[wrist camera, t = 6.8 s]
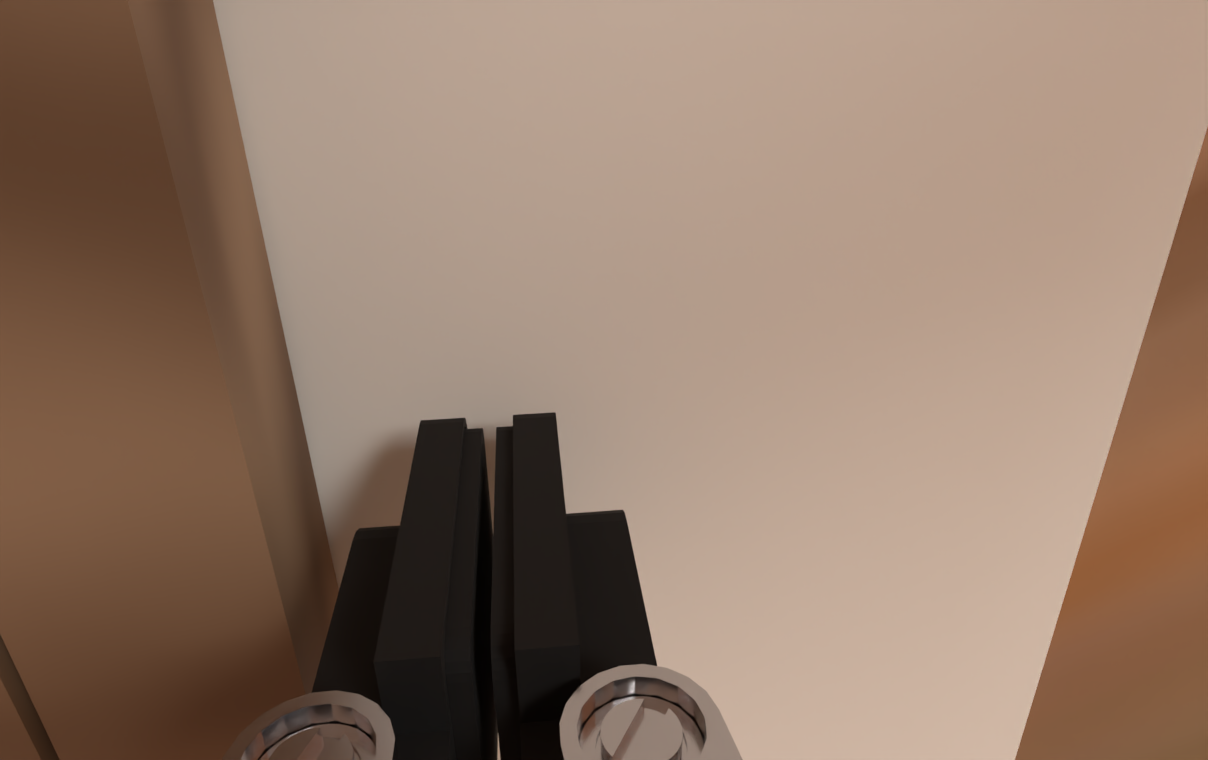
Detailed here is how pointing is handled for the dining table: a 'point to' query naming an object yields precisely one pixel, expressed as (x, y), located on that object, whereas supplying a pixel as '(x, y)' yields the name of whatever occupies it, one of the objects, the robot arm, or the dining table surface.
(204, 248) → the tongs arm
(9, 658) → the tongs base
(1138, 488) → the dining table surface
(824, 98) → the board
